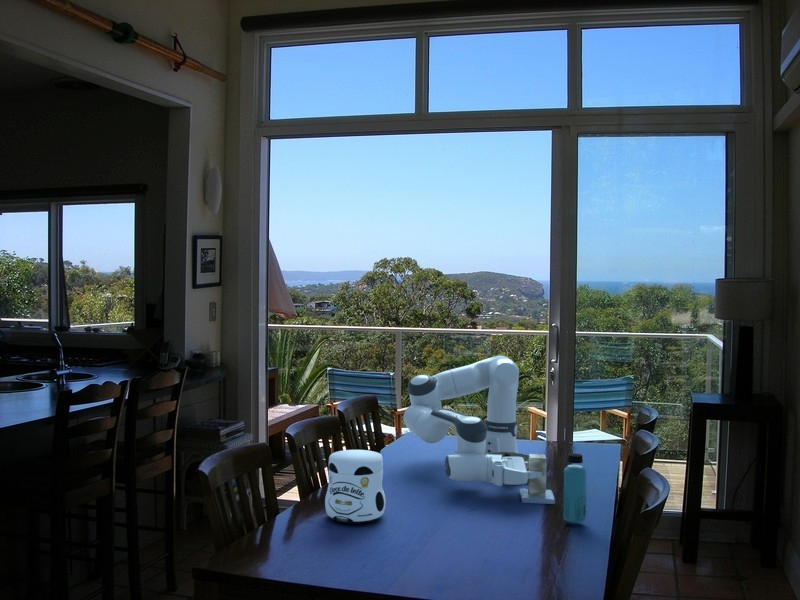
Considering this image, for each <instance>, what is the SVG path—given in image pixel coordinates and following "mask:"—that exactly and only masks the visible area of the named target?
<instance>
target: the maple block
mask: <svg viewBox="0 0 800 600" xmlns="http://www.w3.org/2000/svg"><path fill="white" fill-rule="evenodd" d="M528 456H529V471H531V472H536V471H541V472H542V477H541V478H533V479H528V482H527V484H528V485H527V486H528V488H527V489H528V492H529V496H545V497H546V490H547V457H546V454H541V453H540V454H539V453H538V454H537V453H529V454H528Z"/></svg>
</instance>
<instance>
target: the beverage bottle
mask: <svg viewBox="0 0 800 600" xmlns="http://www.w3.org/2000/svg"><path fill="white" fill-rule="evenodd" d="M567 456H568V457H567V463H568V462H569V463H570V464H568V465H566V467H565V468H563V507H562V517H563V519H564V520H565V521H567V522H570V523H578V524H579V523H583V522H586V519H587V500H588V499H587V493H588V492H587V469H585V467H584V466H582V465H579V464H582V463H583V461H584V460H583V454H582V453H581V454H580V453H576V452H575V453H573V452H572V453H568V455H567Z"/></svg>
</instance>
